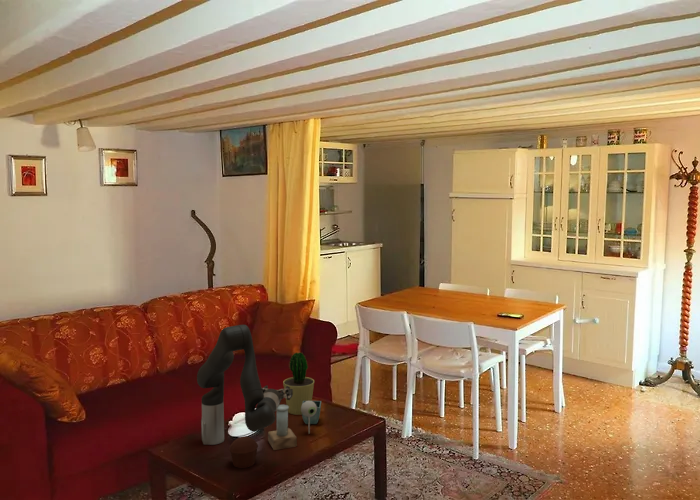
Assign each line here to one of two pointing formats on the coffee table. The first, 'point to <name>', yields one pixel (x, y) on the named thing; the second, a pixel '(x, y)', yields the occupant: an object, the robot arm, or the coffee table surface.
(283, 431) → the vase
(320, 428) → the coffee table surface
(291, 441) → the plinth
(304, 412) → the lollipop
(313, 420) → the flower pot
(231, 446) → the muffin
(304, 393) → the potted cactus
